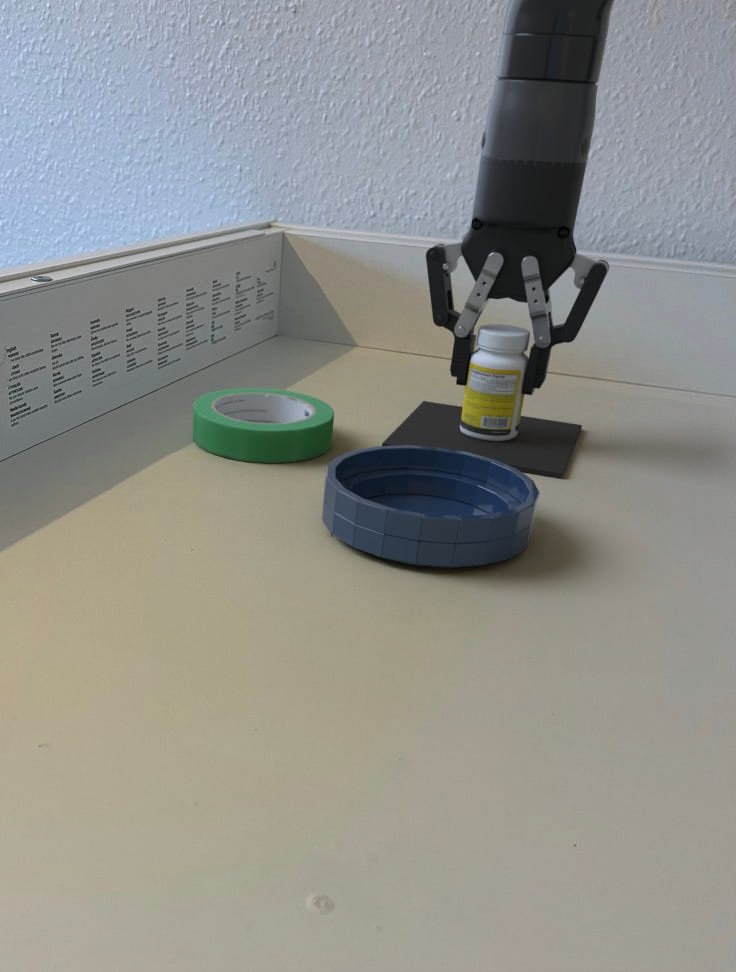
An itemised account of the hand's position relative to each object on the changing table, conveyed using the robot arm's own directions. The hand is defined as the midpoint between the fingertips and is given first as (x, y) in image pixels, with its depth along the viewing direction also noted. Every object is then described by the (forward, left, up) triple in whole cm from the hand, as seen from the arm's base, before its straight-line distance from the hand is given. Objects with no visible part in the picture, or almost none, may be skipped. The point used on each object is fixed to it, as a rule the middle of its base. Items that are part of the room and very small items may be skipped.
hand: (495, 386), depth 80 cm
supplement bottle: (0, 0, -4) cm, 4 cm away
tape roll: (+16, +10, -4) cm, 19 cm away
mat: (0, 0, -4) cm, 4 cm away
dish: (0, +22, -4) cm, 23 cm away
